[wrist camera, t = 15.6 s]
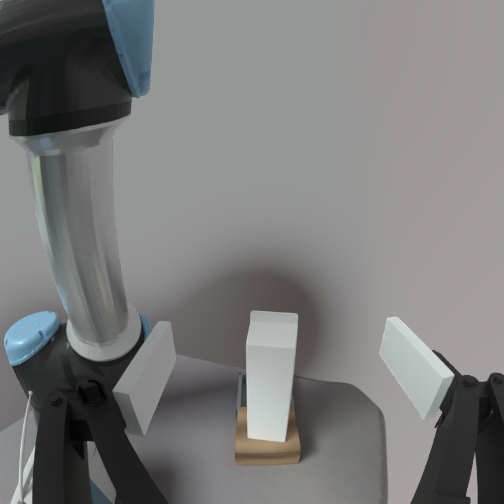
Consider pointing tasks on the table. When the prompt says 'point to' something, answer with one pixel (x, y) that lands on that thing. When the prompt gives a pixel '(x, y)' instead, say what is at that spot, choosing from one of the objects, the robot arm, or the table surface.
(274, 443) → the tan curved block
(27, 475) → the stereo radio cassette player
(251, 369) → the milk
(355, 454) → the table surface
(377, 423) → the table surface
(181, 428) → the table surface
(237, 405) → the tray
